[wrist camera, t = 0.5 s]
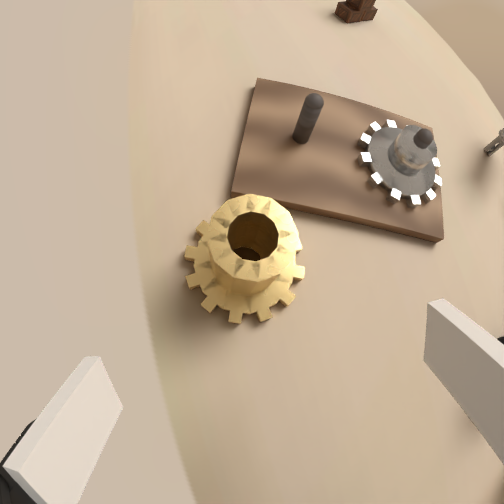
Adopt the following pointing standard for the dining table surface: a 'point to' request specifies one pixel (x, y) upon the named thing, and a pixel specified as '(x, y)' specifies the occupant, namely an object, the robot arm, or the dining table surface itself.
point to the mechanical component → (501, 139)
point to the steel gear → (399, 163)
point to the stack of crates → (356, 10)
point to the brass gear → (240, 270)
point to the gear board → (325, 160)
